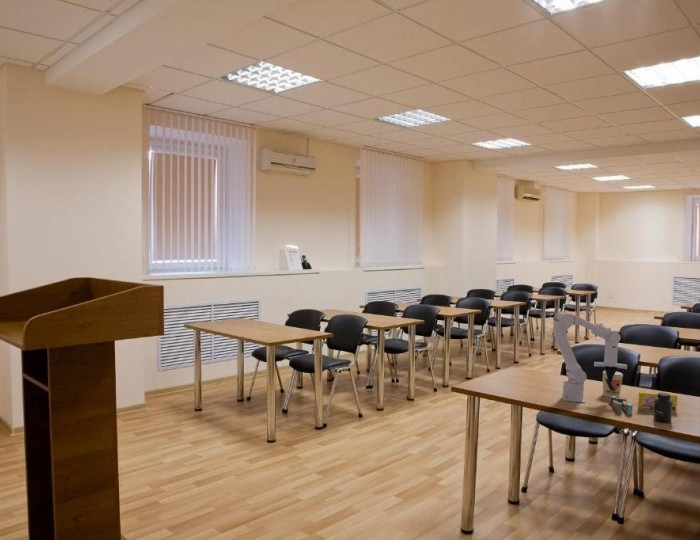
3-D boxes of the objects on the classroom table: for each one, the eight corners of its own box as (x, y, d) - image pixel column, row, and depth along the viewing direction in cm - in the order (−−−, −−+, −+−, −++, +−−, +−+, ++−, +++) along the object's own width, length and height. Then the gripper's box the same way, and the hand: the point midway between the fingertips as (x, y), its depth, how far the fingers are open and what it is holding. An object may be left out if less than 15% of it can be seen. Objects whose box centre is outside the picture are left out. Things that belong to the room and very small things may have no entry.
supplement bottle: (654, 422, 235) (656, 394, 234) (652, 417, 241) (653, 391, 241) (672, 424, 232) (674, 396, 232) (669, 420, 239) (671, 393, 238)
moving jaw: (616, 413, 246) (617, 403, 246) (612, 406, 258) (612, 396, 258) (621, 413, 246) (622, 404, 245) (616, 406, 258) (617, 397, 257)
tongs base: (616, 413, 246) (616, 403, 246) (609, 403, 263) (609, 394, 263) (633, 415, 244) (633, 405, 244) (625, 404, 261) (625, 395, 261)
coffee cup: (602, 396, 274) (604, 373, 273) (599, 392, 283) (601, 369, 282) (622, 399, 271) (624, 375, 270) (619, 394, 280) (621, 371, 279)
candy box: (639, 410, 253) (640, 392, 252) (637, 409, 255) (638, 391, 254) (676, 413, 250) (677, 395, 250) (674, 411, 252) (675, 394, 252)
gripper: (596, 354, 264) (594, 382, 265) (628, 357, 260) (627, 385, 261) (593, 352, 271) (592, 379, 272) (625, 354, 267) (624, 381, 268)
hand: (609, 382), depth 267 cm, fingers closed
